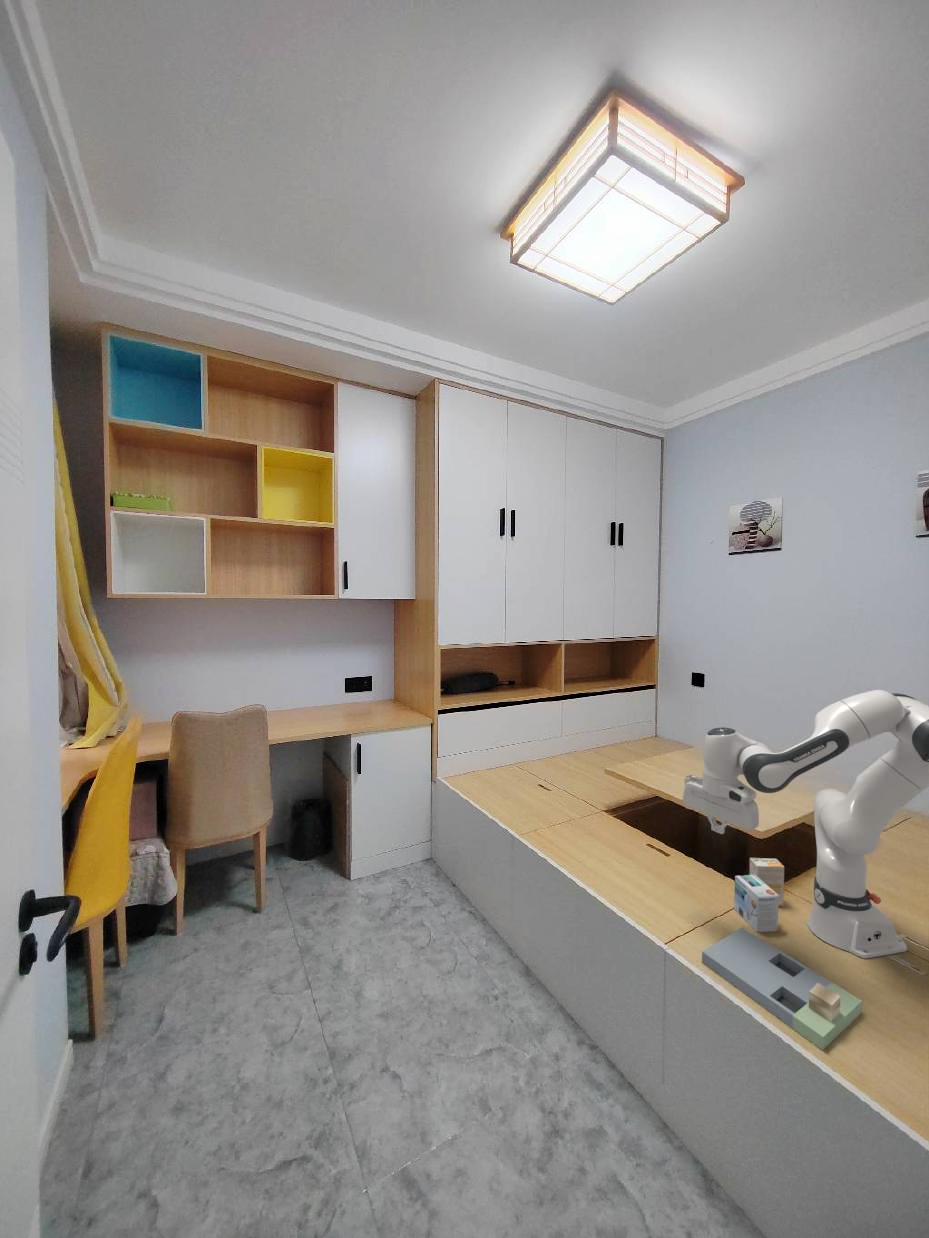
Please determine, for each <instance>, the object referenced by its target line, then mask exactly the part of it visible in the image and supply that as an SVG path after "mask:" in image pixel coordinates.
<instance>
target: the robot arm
mask: <svg viewBox="0 0 929 1238" xmlns="http://www.w3.org/2000/svg"><path fill="white" fill-rule="evenodd" d="M883 733H890V734H891V735H893V737H895V738H896V739H897V743H896V745H895V746H894V747H893V748H891V749H890V750H889V751H887V752H886V753H884V754H882V755H881V756H880V757H879V758H878V759H877V760H875V762H873V763H872V764H871V765H869V766H868V767H866V769H864V770H863V771H862V772H861V773H860V774H858V775H857V776H856V779H855V782H854V784H853V786H852V788H851V789H850V791H849V792H848V793H844V792H843V791H840V790H839V789H834V788H826V789H821V790H820V791H818V792H817V793H816V794H815V796H814V798H813V813H814V831H815V843H816V872H815V873H816V876H815V877H814V880H813V881H814V882H813V896H814V899H813V903H812V904H813V905H812V909H811V911H810V914H809V917H808V919H807V922H806V923H807V927H808V929H809V931H811V932H812V934H814V935H815V936H816V937H817V938H819V939H820V940H822V941H823V942H825V943H827V944H829V945H831V946H832V947H836V948H838V949H842V950H843V951H844V950H845V951H847V952H849V953H851V954H853V955H855V956H857V957H859V958H862V959H870V958H875V957H876V958H877V957H880V956H888V955H893V954H898V953H904V952H907V951H908V946H907V944H906V942H905V940H903V938H902V937H901V936H900V935H899V934H898V933H897V932H896V928H895V925H894V923H893V921H892V920H891V919H890V917H889V916H888V915H887V914H885V913H884V912H883V911H882V910H880V908H878V906H876V905H879V904H881V902H882V898H881V897H879V895H876V894H875V893H873V892H872V893H871V892H870V891H869V890H868V889H867V885H866V884H867V870H868V867H867V861H866V857H865V856H866V855H870V854H871V853H873V852H874V851H875V850H877V847H878V846H879V841H880V837H881V835H882V834H883V832H884V831H885V829H886V828H887V826H888V825H889V824H890V822H891V821H892V820H893V818H894V817H895V816H896V814H897V813H898V812H899V811H900V810H902V808H903V807H905V806H906V805H907V804H909V803H910V802H911V801H913V800H914V799H915V798H916V797H918V795H920V794H921V793H923V791H925V790H926V789H928V788H929V705H927V704H926V703H924V702H922V701H920V700H917V699H915V697H913V696H909V695H906V694H904V693H896V692H895V693H894V692H893V693H891V692H889V691H886V690H884V689H874V690H868V691H864V692H862V693H857V694H854V695H851V696H848V697H845V698H843V699H840V700H838V701H836V702H834V703H832V704H829V705H827V706H825V707H824V708H822V709H821V710H819V711H818V712H817V713H816V714H815V716H814V719H813V732H812V735H811V736H809V738H807V739H806V740H803V741H800V743H797V744H796V745H793V746H791V747H789V748H788V749H785V750H783V751H781V752H773V751H772V750H771V749H770V748H769V747H768V746H767V745H766V744H764V743H762V742H760V741H758V740H754V739H751V738H749V737H746V736H745V735H742V734H741V733H739V731H737V730H736V729H733V728H731V727H724V726H723V727H715V728H711V729H709V730H708V732H707V733H706V735H705V739H704V744H703V752H702V753H703V754H702V755H703V758H702V759H703V761H704V765H703V769H702V778H701V777H698V776H695V775H691V774H690V775H687V776H685V778H684V789H683V795H682V803H683V804H684V806H686V807H688V808H692V809H693V810H696V811H699V812H701V813H703V814H706V815H707V819H708V821H709V823H710V826H711V831H713V832H716V833H718V834H720V835H723V834H725V831H726V830H725V828H726V827H727V825H728V824H732V825H734V826H737V827H739V828H742V829H744V830H747V831H748V832H750V831H754V830H756V828H758V827H759V824H760V818H759V817H760V816H759V815H760V814H759V806H758V804H757V802H756V800H755V799H756V798H757V791H758V792H760V793H763V794H774V793H778V792H781V791H782V790H784V789H785V788H786V787H787V786H788V785H789V784H790V783H791V782H792V781H793V780H794V779H796V778H797V777H799V776H800V775H803V774H804V773H806V772H808V771H810V770H812V769H814V768H816V767H818V766H820V765H822V764H825V763H827V762H829V761H830V760H832V759H834V758H836V757H838V756H840V755H841V754H843V753H844V752H846V750H848V749H850V748H852V747H854V746H855V745H858V744H861V743H863V742H865V741H867V740H870V739H872V738H875V737H877V736H879V735H881V734H883ZM740 775H743V776H744V778H745V780H746V782H747V783H748V785H749V786H750V787H749V786H747V785H746V784H744V783H743V782H742V781H741V780H739V776H740ZM751 787H752V788H753V789H752V788H751ZM716 819H718V820H720V823H719V824H718V822H717V820H716ZM871 901H872V902H873V903H872V902H871ZM874 904H876V905H874Z"/></svg>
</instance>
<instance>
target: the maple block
mask: <svg viewBox="0 0 929 1238" xmlns="http://www.w3.org/2000/svg"><path fill="white" fill-rule="evenodd" d="M840 1000H841V996H839V995H838V994H836V993H834V992H833V991H831V990H829V989H828V988H826V987H824V986H823V985H821V984H819V983H817V984H816V985H815V986H814V987H813V988H812V989H811V990H810V991H809V1008H810V1009H811V1010H813V1011H814V1012H816V1013H817V1014H819V1015H820V1016H822V1017H824V1018H825V1019H827V1020H828V1021H830V1022H832V1021H833V1020H834V1019H835V1018H836V1017H837V1016H838V1015H839V1013H840Z"/></svg>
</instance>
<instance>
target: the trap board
mask: <svg viewBox="0 0 929 1238" xmlns="http://www.w3.org/2000/svg"><path fill="white" fill-rule="evenodd" d="M701 963H702V964H703V965H705V966H706V967H707V968H709V969H711V970H712V971H713V972H715V973H716V974H718V976H719V977H721V978H723V979H724V980H725V981H727V982H729V984H731V985H733V987H735V988H737V989H738V990H740V992H742V993H743V994H745V995H746V996H747V995H748V996H747V997H749V998H750V997H751V998H750V999H752V1000H753V1001H754V1002H755V1003H757V1004H758V1005H759V1006H761V1007H762V1008H765V1009H766V1010H767V1011H768V1012H770V1014H772V1015H773V1016H775V1017H776V1018H778V1019H779V1020H781V1022H783V1023H785V1024H786V1025H787V1026H789V1028H791V1029H793V1028H792V1022H793V1015H794V1014H795V1013H796V1012H798V1011H799V1010H800V1009H801V1008H802V1007H804V1006H805V1005H806V1004H807V1003H808V1002H809V991H810V990H811V989H812V988H813V987H814V986H815V985H816V984H817V983H819V984H821V985H823V986H824V987H827V986H829V985H830V984H831V983H833V981H830V980H829V979H828V978H825V977H824V976H823V975H821V974H819V973H818V972H815V971H814V970H813V969H811V968H809V967H807V966H806V965H805V964H803V963H801V962H799V961H798V960H796V959H795V958H793V957H791V956H790V955H788V954H786V953H785V952H783V951H781V950H780V949H778V948H777V947H775V946H773V945H772V944H770V943H768V942H767V941H765V940H763V939H762V938H760V937H759V936H757V935H755V934H754V933H752V932H750V931H749V930H747V929H746V928H744V927H740V928H738V929H737V930H735V931H734V932H732V933H730V934H728V935H727V936H725V937H724V938H722V939H720V940H718V941H717V942H715V943H714V944H712V945H710V946H709V947H707V948H705V949H704V950H702V952H701Z"/></svg>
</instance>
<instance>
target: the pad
mask: <svg viewBox="0 0 929 1238" xmlns="http://www.w3.org/2000/svg"><path fill="white" fill-rule="evenodd" d="M826 988H828V989H829V990H831V991H833V992H834V993H836V994H838V995H839V996H841V1000H840V1013H839V1015H838V1016H837V1017H836V1018H835V1019H834V1020H833V1021H832V1022H830V1021H828V1020H827V1019H825V1018H824V1017H822V1016H820V1015H819V1014H817V1013H816V1012H814V1011H813V1010H811V1009H810V1008H809V1002H808V1003H807V1004H806V1005H805V1006H804V1007H802V1008H801V1009H800V1010H799V1011H798V1012H796V1013H795V1014H794V1015H793V1022H792V1028H791V1029H792V1030H794V1031H796V1032H797V1033H798V1034H799V1035H801V1036H802V1037H803V1038H804V1039H806V1040H808V1041H809V1042H810V1043H812V1044H813V1045H815V1046H816V1047H818V1048H819V1049H820V1050H822V1051H824V1050H825V1049H826V1048H827V1047H828V1046H829V1045H830V1044H831V1043H832V1042H833V1041H835V1040H836V1039H837V1037H838V1036H839V1035H841V1034H842V1033H843V1031H844V1030H845V1029H847V1028H848V1027H849V1026H850V1025H851V1024H852V1023H853V1022H854V1021H856V1019H857V1018H858V1017H859V1016H860V1015H862V1012H863V1011H862V1008H863V1005H862V1004H863V1000H862V999H860V998H858V997H857V996H855V995H853V994H852V993H850V992H848V991H847V990H845V989H843V988H842V987H840V986H838V985H837V984H835V983H834V982H832V983H831V984H830V985H829V986H827V987H826Z"/></svg>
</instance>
